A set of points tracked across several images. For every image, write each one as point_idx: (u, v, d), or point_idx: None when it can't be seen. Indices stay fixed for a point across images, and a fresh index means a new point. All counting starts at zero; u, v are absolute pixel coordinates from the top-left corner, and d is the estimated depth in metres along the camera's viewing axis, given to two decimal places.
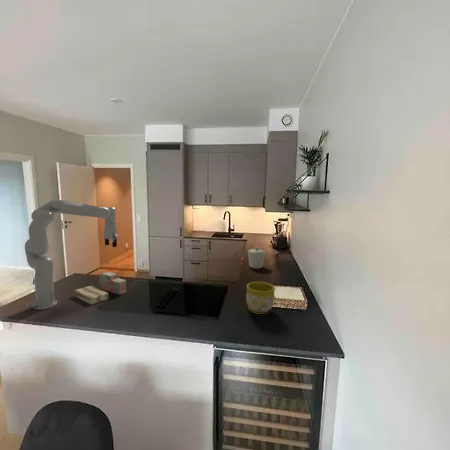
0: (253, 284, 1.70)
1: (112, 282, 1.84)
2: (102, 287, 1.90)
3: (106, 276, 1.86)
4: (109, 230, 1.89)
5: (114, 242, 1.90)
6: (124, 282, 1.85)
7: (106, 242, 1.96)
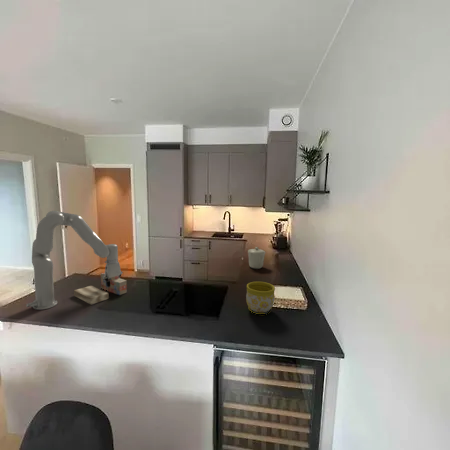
0: (253, 284, 1.70)
1: (112, 282, 1.84)
2: (103, 287, 1.90)
3: None
4: (118, 267, 1.88)
5: None
6: (124, 282, 1.84)
7: None
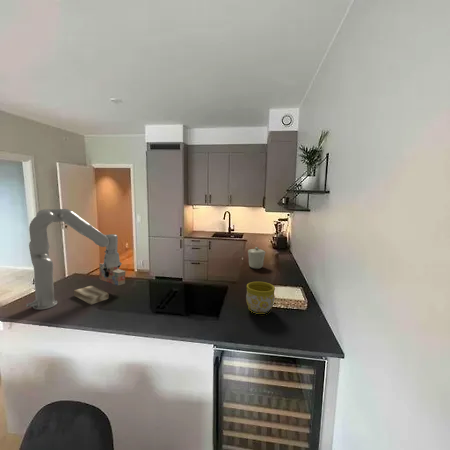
0: (253, 284, 1.70)
1: (111, 272, 1.82)
2: (102, 277, 1.88)
3: None
4: (117, 257, 1.87)
5: None
6: (123, 273, 1.82)
7: None
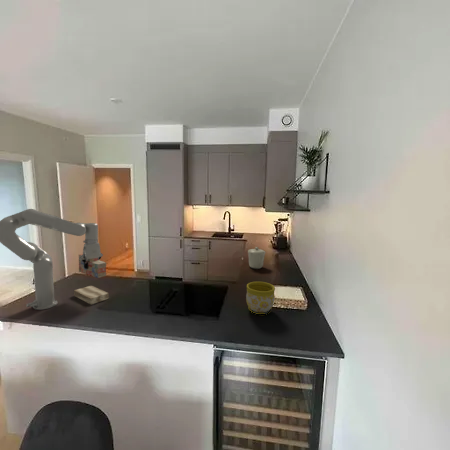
0: (253, 284, 1.70)
1: (90, 263, 1.69)
2: (81, 269, 1.75)
3: None
4: (98, 248, 1.74)
5: None
6: (104, 264, 1.70)
7: None
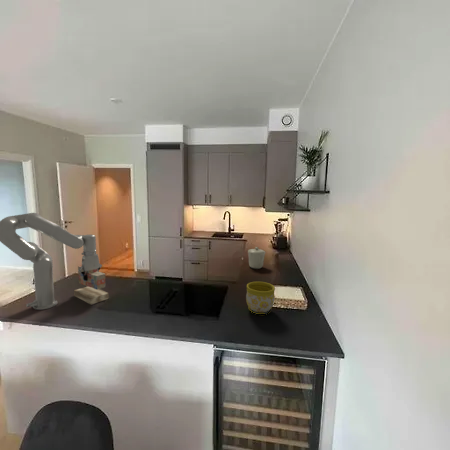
0: (253, 284, 1.70)
1: (90, 275, 1.70)
2: (81, 281, 1.76)
3: None
4: (96, 259, 1.74)
5: None
6: (103, 276, 1.70)
7: None
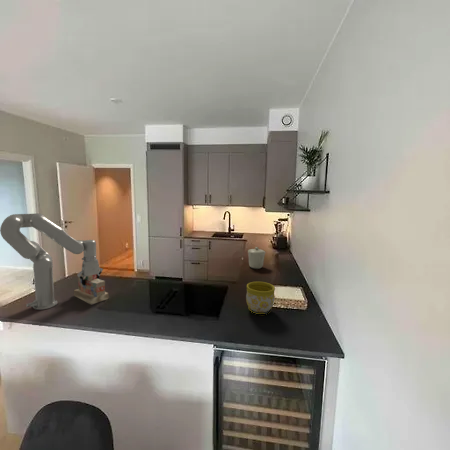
0: (253, 284, 1.70)
1: (89, 282, 1.70)
2: (80, 288, 1.76)
3: None
4: (96, 264, 1.74)
5: None
6: (102, 283, 1.70)
7: None
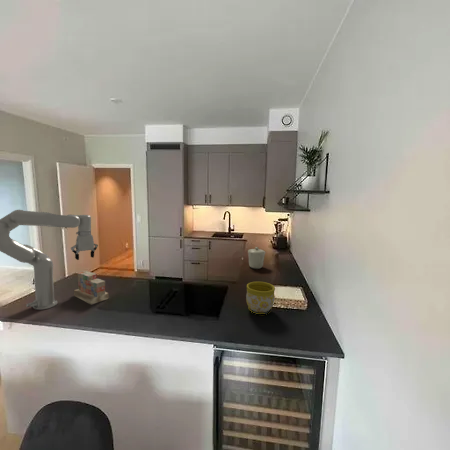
0: (253, 284, 1.70)
1: (89, 282, 1.70)
2: (80, 288, 1.76)
3: (84, 276, 1.72)
4: (91, 240, 1.73)
5: None
6: (102, 283, 1.70)
7: None
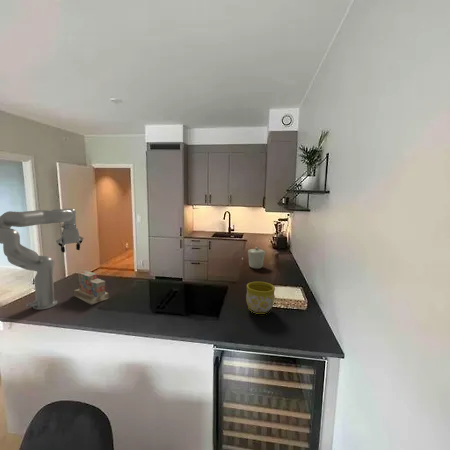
0: (253, 284, 1.70)
1: (90, 282, 1.70)
2: (81, 288, 1.76)
3: (84, 276, 1.73)
4: (76, 233, 1.78)
5: (79, 244, 1.83)
6: (103, 283, 1.70)
7: None
